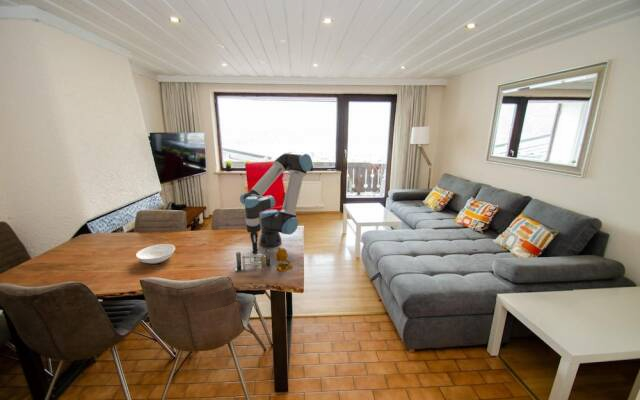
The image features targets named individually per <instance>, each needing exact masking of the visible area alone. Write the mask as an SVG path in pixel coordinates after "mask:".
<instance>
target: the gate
mask: <svg viewBox="0 0 640 400" xmlns="http://www.w3.org/2000/svg"><path fill="white" fill-rule="evenodd" d="M261 256H265V253H264V252H263V253H258V254H253V253H252V254H245V255H241V261H242V266H243V268H244V269H246V267H247V266H258V265H261V260H260V261H259V258H261ZM253 257H256V262H253V261H252V259H253ZM246 259H249V262H246Z"/></svg>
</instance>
